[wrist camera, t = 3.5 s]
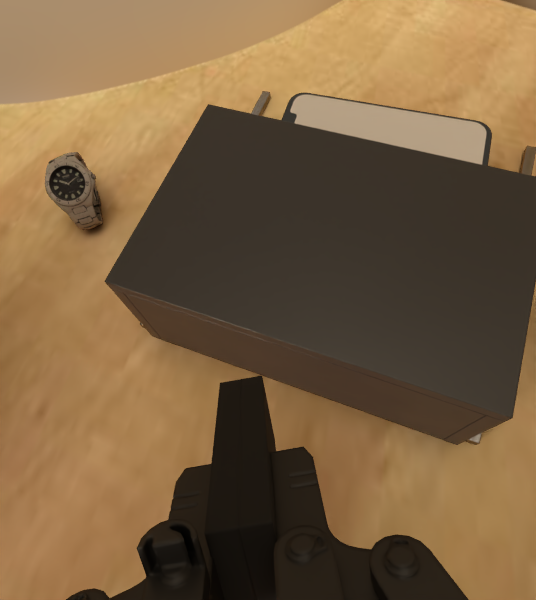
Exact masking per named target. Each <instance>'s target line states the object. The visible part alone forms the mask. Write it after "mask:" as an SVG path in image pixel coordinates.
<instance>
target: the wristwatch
mask: <svg viewBox="0 0 536 600" xmlns="http://www.w3.org/2000/svg"><path fill="white" fill-rule="evenodd" d="M95 179H96V176H95V174H93V173H92V172H91V171H90V170H88V168H87V166H86V164H85V162H84V160H83V159H82V157H81V155H80V154H79V153H78V152H74V153H67V154H64V155H62V156H59V157H57V158H55V159H53V160H51V161H50V162H49V164H48V165H47V168H46V176H45V187H46V191H47V193H48V195H49V197H50V198H51V199H52V200H53V201H54V202H55V203H56V204H57V205H58V206H59V207H60V208H61V209H62V210H64V211H65V212H66V213H67V214H68V215H69V217H70V218H71V219H72V221H73V222H74V223H75V224H76V225H77V226H78V227H79V228H80V229H82V230H84V229H92V228H94V227H96V226H98V225H100V224H103V220H102V215H101V209H100V206H101V203H100V198H99V196H98V191H97V190H96V186H95V185H96V184H95Z"/></svg>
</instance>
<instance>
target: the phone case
mask: <svg viewBox="0 0 536 600" xmlns="http://www.w3.org/2000/svg"><path fill="white" fill-rule="evenodd" d="M281 121H286V122H290V123H295V124H300V125H304V126H309V127H313V128H318V129H322V130H327V131H331V132H336V133H340V134H345V135H349V136H354V137H359V138H363V139H368V140H372V141H377V142H381V143H386V144H390V145H395V146H399V147H404V148H408V149H413V150H418V151H422V152H427V153H431V154H436V155H440V156H445V157H449V158H454V159H458V160H463V161H467V162H472V163H477V164H481V165H486V166H488V160H489V153H490V145H491V138H492V133H491V130H490V128H489V127H488V126H487V125H486V124H484V123H482V122H480V121H475V120H469V119H463V118H457V117H451V116H445V115H439V114H433V113H427V112H420V111H414V110H408V109H402V108H396V107H390V106H384V105H378V104H372V103H366V102H360V101H354V100H348V99H342V98H335V97H329V96H323V95H317V94H311V93H299V94H296V95H294V96H293V97H292V98H291V99H290V100H289V102H288V105H287V107H286V110H285V113H284V115H283V118H282V120H281Z"/></svg>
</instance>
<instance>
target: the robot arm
mask: <svg viewBox="0 0 536 600" xmlns="http://www.w3.org/2000/svg"><path fill="white" fill-rule="evenodd" d="M137 550H138V553H139V556H140V559H141V561H142V564H143V567H144V570H145V573H146V576H147V577H146V579H144V580H143V581H142V582H141V583H139V584H138V585H136V586H134V587H132V588H131V589H129V590H126V591H124V592H122V593H120V594H118V595H116V596H114V597H112V598H109V597H108V596H107V595H106V594H105V592H104V591H101V590H98V589H88V590H83V591H80V592H78V593H76V594H74V595H72V596H70V597H69V598H68V599H66V600H468V598H467V597H466V596H465V595H464V593H463V592H462V591H461V589H460V588H459V587H458V586H457V584H456V583H455V582H454V580H453V579H452V578H451V577H450V575H449V574H448V573H447V571H446V570H445V569H444V568H443V566H442V565H441V564H440V562H439V561H438V560H437V559H436V557H435V556H434V555H433V553H432V552H431V551H430V549H428V548H427V547H426V546H425V545H424V544H423V543H422V542H421V541H419V540H417V539H414V538H412V537H410V536H404V535H392V536H387V537H384V538H383V539H381V540H380V541H378V542H376V543H375V545H374V546H373V548H372V549H363V548H356V547H352V546H348V545H346V544H344V543H342V542H340V541H339V540H338V539H337V538H335V537H334V536H333V534H332V533H331V532H330V530H329V527H328V525H327V521H326V516H325V511H324V507H323V502H322V497H321V493H320V488H319V484H318V479H317V474H316V470H315V465H314V460H313V457H312V456H311V454H310V453H309V452H308V451H307V450H306V449H305V448H304V447H299V448H293V449H287V450H282V451H276V447H275V439H274V434H273V429H272V424H271V419H270V414H269V409H268V403H267V398H266V393H265V388H264V383H263V378H262V376H258V377H252V378H246V379H241V380H235V381H229V382H224V383H220V389H219V398H218V408H217V417H216V427H215V436H214V446H213V455H212V464H208V465H203V466H197V467H191V468H186V469H185V470H184V471H183V473H182V474H181V476H180V477H179V479H178V480H177V481H176V485H175V490H174V495H173V500H172V504H171V511H170V514H169V519H168V520H167V521H164V522H161V523H159V524H157V525H156V526H154V527H153V528H151V529H150V530H149V531H148V532H147V533H146V534H145V535H144V536H143V537H142V538H141V540H140V543H139V545H138V547H137Z"/></svg>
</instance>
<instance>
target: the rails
mask: <svg viewBox="0 0 536 600" xmlns="http://www.w3.org/2000/svg"><path fill="white" fill-rule="evenodd" d="M270 98H271V96H270V92H266V91H263V92H262V94H261V96H260V98H259V100H258V101H257V103H256V105H255V107H254V109H253V111H252V113H251V114H254V115H259V116H262V114H263V112H264V110H265V108H266V106H267V104H268V102H269V100H270ZM535 154H536V147H531V146H527V147H526V149H525V150H524V154H523V159H522V163H521V168H520V173H522V174H526V175H531V174H532V169H533V164H534V159H535ZM140 325H141V326H142V327H143V328H145V327H144V326H143V325H142V323H141V322H140ZM480 438H481V433H480V434H478V435H476V436H474V437H472V438H470V439H468V440H466V442H469V443H472V444H474V445H477V444H479V443H480Z"/></svg>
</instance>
